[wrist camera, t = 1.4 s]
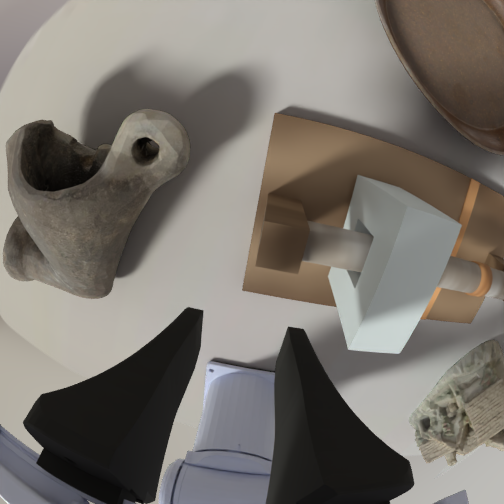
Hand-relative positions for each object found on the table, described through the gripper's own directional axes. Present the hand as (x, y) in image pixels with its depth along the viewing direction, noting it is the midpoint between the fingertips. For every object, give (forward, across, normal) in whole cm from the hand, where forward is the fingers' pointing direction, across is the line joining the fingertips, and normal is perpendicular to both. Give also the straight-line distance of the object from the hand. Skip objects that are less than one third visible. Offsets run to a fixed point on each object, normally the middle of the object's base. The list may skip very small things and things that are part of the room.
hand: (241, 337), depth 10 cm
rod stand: (+9, -10, -3) cm, 14 cm away
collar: (+8, -6, -3) cm, 11 cm away
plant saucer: (+10, -12, -20) cm, 25 cm away
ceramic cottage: (+10, -30, +15) cm, 35 cm away
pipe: (+10, +13, -1) cm, 17 cm away
